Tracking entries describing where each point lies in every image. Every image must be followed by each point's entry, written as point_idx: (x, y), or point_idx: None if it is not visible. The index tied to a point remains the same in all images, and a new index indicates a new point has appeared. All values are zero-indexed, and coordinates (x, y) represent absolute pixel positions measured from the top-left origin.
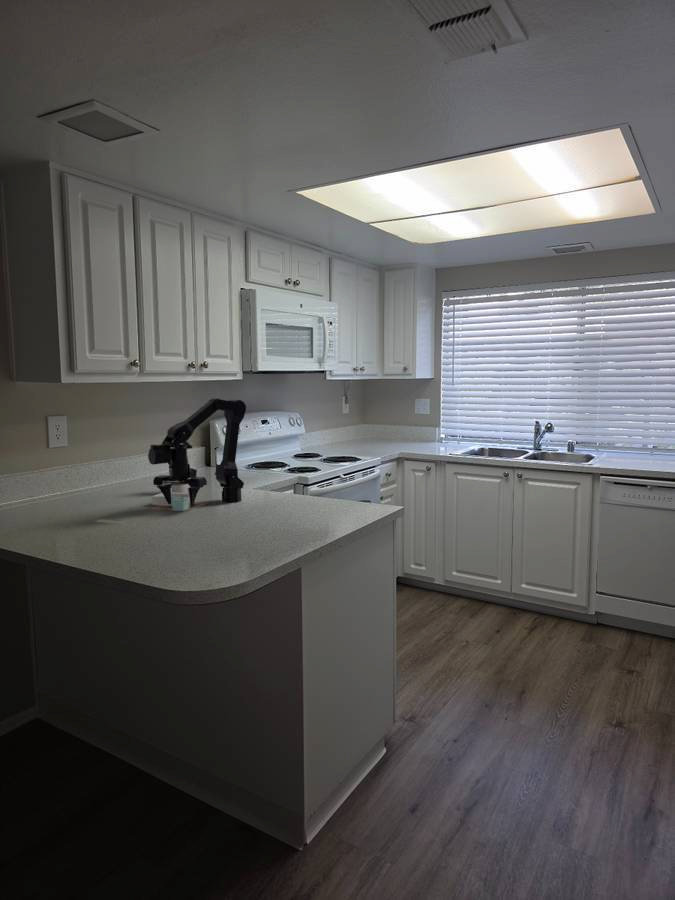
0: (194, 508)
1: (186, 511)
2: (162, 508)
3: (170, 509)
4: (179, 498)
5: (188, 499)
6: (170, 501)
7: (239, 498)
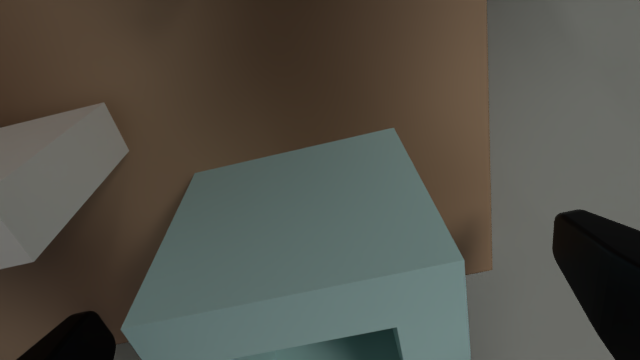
0: (485, 77)
1: (480, 270)
2: (34, 306)
3: None
4: (225, 342)
5: (449, 239)
6: (79, 355)
7: None
